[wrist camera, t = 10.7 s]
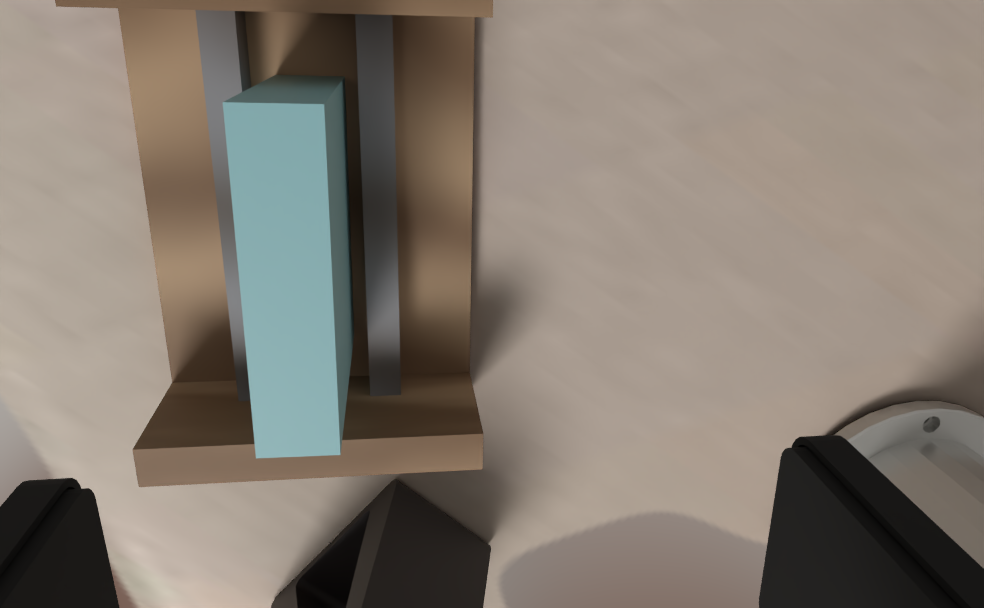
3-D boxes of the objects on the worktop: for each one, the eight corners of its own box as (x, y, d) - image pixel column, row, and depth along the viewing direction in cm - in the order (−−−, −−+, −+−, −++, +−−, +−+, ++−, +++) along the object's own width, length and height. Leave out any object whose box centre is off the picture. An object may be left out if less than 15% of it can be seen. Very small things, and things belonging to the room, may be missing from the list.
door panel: (354, 333, 30) (340, 455, 22) (293, 334, 30) (256, 458, 22) (345, 76, 27) (324, 104, 18) (275, 74, 26) (222, 102, 18)
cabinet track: (466, 392, 33) (482, 469, 27) (183, 403, 31) (138, 487, 26) (472, -28, 27) (493, -39, 21) (121, -39, 25) (45, -55, 20)
